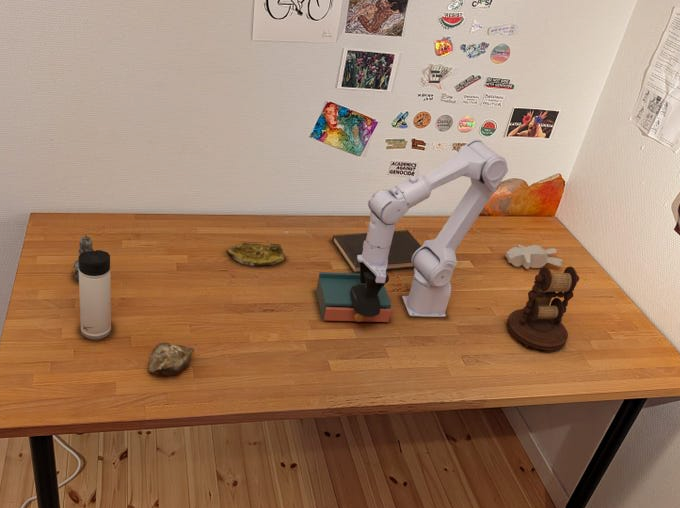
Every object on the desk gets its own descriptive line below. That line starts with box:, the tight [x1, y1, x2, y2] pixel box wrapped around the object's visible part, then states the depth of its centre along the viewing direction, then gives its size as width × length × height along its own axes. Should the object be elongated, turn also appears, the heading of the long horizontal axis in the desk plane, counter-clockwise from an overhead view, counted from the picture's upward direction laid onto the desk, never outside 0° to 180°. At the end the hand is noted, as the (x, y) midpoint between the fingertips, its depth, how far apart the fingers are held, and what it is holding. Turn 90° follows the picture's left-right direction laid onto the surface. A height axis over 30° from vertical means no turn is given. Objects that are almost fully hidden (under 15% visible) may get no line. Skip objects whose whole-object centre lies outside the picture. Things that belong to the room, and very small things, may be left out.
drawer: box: [323, 306, 392, 323], centre depth 180 cm, size 16×12×3 cm
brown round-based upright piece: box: [506, 265, 580, 351], centre depth 179 cm, size 15×15×20 cm
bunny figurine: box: [505, 244, 564, 270], centre depth 211 cm, size 10×5×15 cm
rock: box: [147, 342, 195, 376], centre depth 154 cm, size 8×7×10 cm
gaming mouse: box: [350, 280, 381, 317], centre depth 175 cm, size 6×15×4 cm, turn 10°
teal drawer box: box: [315, 271, 392, 321], centre depth 181 cm, size 16×11×6 cm
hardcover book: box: [331, 229, 422, 274], centre depth 204 cm, size 16×23×2 cm
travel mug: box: [77, 249, 112, 341], centre depth 156 cm, size 6×7×20 cm
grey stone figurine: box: [72, 234, 95, 283], centre depth 173 cm, size 6×6×12 cm
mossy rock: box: [226, 242, 285, 267], centre depth 193 cm, size 9×5×15 cm
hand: (367, 290), depth 175 cm, fingers closed on gaming mouse, 5 cm apart
